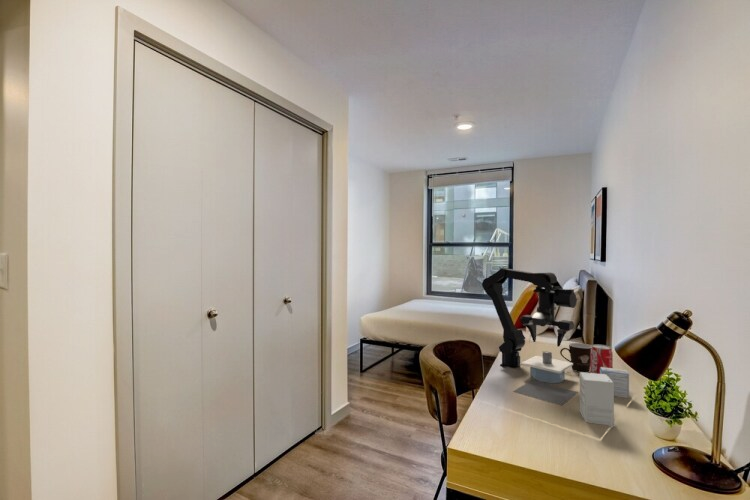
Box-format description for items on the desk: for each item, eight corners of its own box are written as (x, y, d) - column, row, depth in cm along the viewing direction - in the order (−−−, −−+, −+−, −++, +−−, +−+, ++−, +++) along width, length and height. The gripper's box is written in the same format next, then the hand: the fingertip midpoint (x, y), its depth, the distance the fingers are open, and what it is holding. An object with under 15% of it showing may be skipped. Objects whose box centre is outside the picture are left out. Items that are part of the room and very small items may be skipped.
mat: (512, 393, 126) (512, 391, 126) (531, 381, 137) (531, 380, 137) (561, 407, 114) (561, 405, 114) (578, 393, 125) (578, 391, 125)
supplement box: (607, 416, 108) (607, 373, 108) (614, 427, 101) (614, 382, 101) (579, 412, 110) (579, 371, 110) (584, 423, 103) (584, 379, 103)
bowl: (526, 379, 139) (526, 364, 140) (538, 372, 147) (538, 358, 147) (557, 386, 132) (557, 371, 132) (567, 379, 139) (567, 365, 139)
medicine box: (626, 394, 124) (626, 369, 124) (629, 399, 120) (629, 373, 120) (599, 391, 127) (599, 366, 127) (601, 395, 123) (601, 370, 123)
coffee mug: (593, 368, 152) (593, 344, 152) (592, 374, 144) (592, 349, 144) (562, 364, 158) (561, 341, 158) (559, 369, 151) (559, 345, 151)
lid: (521, 364, 140) (521, 352, 140) (536, 357, 149) (536, 345, 149) (559, 373, 130) (559, 360, 130) (573, 365, 139) (573, 352, 139)
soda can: (606, 377, 141) (606, 344, 141) (616, 384, 134) (616, 349, 134) (586, 377, 142) (586, 343, 142) (596, 383, 134) (596, 348, 134)
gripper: (514, 303, 144) (513, 343, 144) (563, 309, 130) (563, 353, 130) (526, 301, 152) (526, 338, 152) (574, 306, 138) (574, 347, 138)
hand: (546, 344), depth 143 cm, fingers open, 9 cm apart
